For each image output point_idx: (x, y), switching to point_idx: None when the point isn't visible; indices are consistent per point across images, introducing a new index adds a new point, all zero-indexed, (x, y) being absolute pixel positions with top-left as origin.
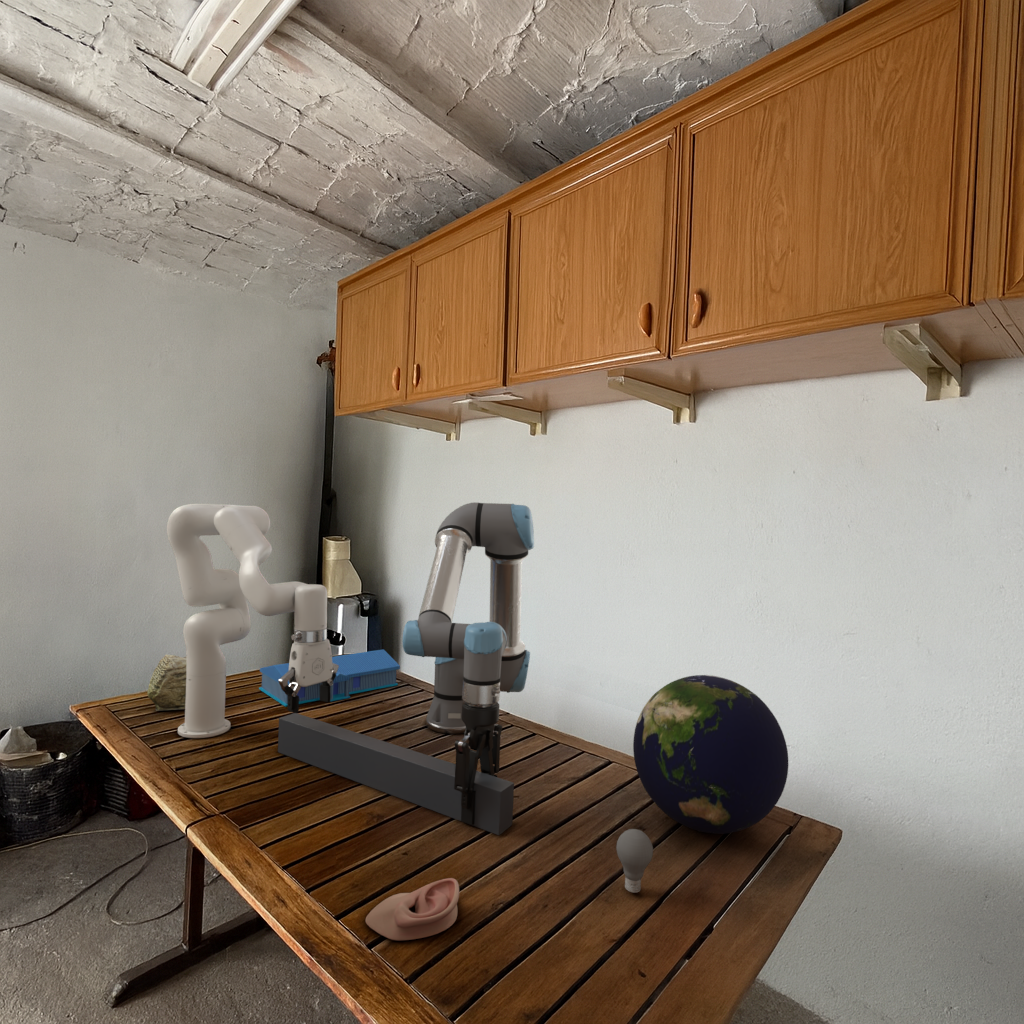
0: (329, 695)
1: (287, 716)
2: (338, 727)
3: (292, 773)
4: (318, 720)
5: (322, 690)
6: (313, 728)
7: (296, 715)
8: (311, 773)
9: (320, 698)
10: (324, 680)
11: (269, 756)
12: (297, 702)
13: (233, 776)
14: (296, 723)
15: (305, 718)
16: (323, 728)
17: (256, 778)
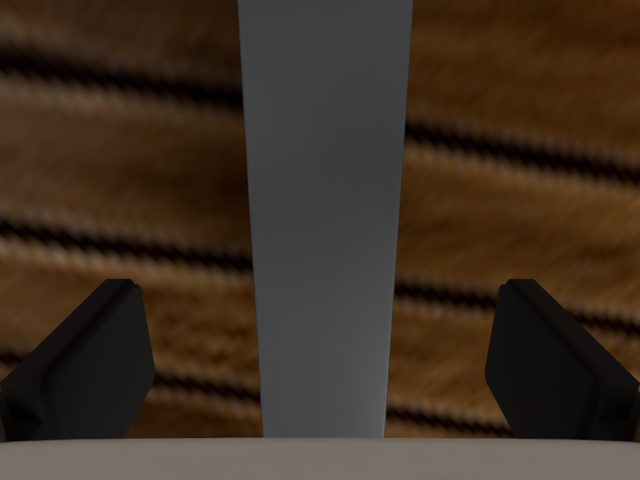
0: (90, 311)
1: (336, 429)
2: (254, 1)
3: (485, 115)
4: (256, 244)
5: (104, 425)
6: (390, 147)
7: (289, 408)
8: (440, 40)
9: (147, 382)
10: (114, 444)
11: (411, 323)
12: (575, 330)
13: (620, 279)
14: (389, 307)
15: (288, 334)
16: (344, 87)
17: (597, 196)
